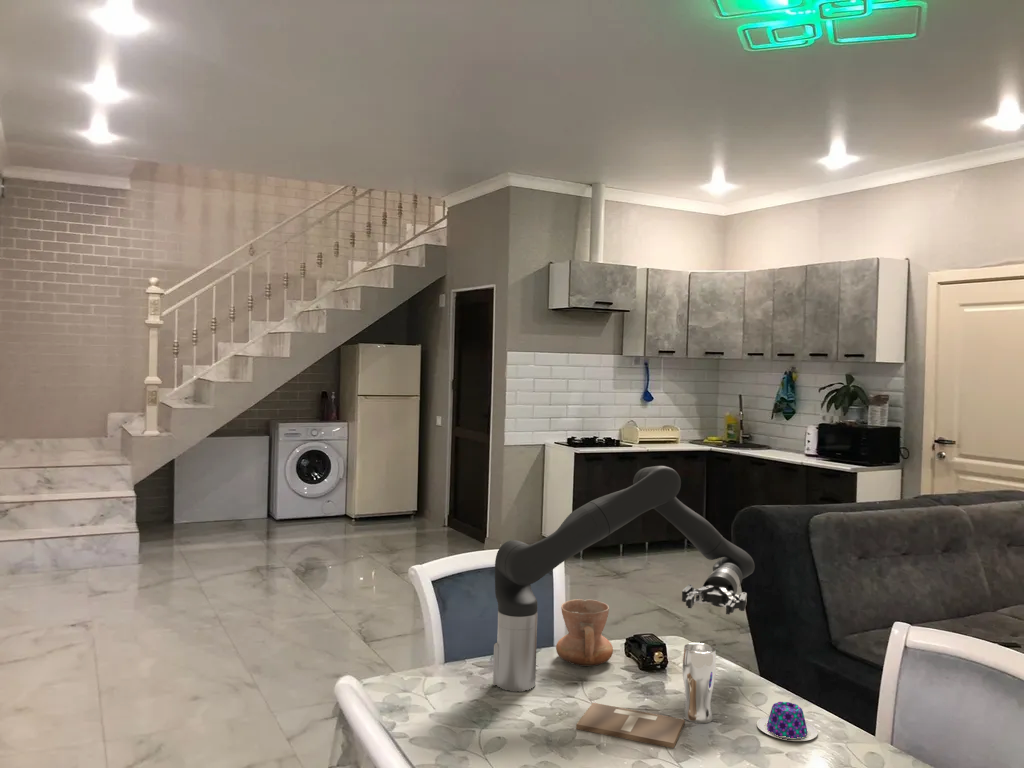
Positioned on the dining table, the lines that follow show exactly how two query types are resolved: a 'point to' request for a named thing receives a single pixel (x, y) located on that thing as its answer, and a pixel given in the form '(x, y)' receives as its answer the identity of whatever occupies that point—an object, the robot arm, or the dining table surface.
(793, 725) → the pudding
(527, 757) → the dining table surface
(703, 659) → the beer glass
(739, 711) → the dining table surface
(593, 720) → the board
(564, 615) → the ceramic jug
